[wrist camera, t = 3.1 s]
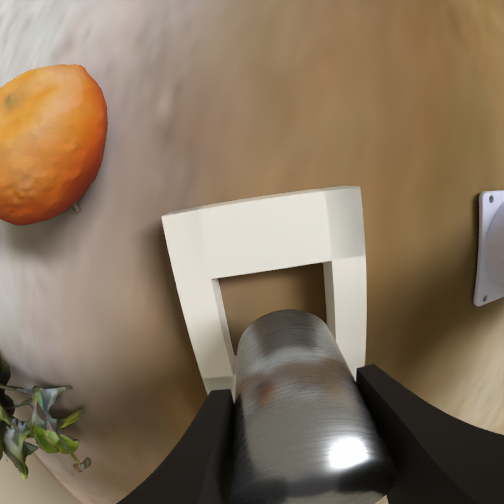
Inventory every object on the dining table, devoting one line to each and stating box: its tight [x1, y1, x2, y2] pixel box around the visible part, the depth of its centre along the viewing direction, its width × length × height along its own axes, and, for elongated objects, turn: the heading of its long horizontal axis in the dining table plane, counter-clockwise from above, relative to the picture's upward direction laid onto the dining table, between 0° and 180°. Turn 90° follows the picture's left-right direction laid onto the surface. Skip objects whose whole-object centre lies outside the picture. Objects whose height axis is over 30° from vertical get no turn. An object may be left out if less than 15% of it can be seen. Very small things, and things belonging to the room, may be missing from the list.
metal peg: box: [230, 309, 398, 504], centre depth 8 cm, size 4×4×7 cm
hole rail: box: [161, 185, 367, 404], centre depth 17 cm, size 9×28×2 cm, turn 9°
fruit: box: [0, 65, 108, 225], centre depth 11 cm, size 8×8×8 cm
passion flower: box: [0, 357, 91, 480], centre depth 14 cm, size 11×11×12 cm
